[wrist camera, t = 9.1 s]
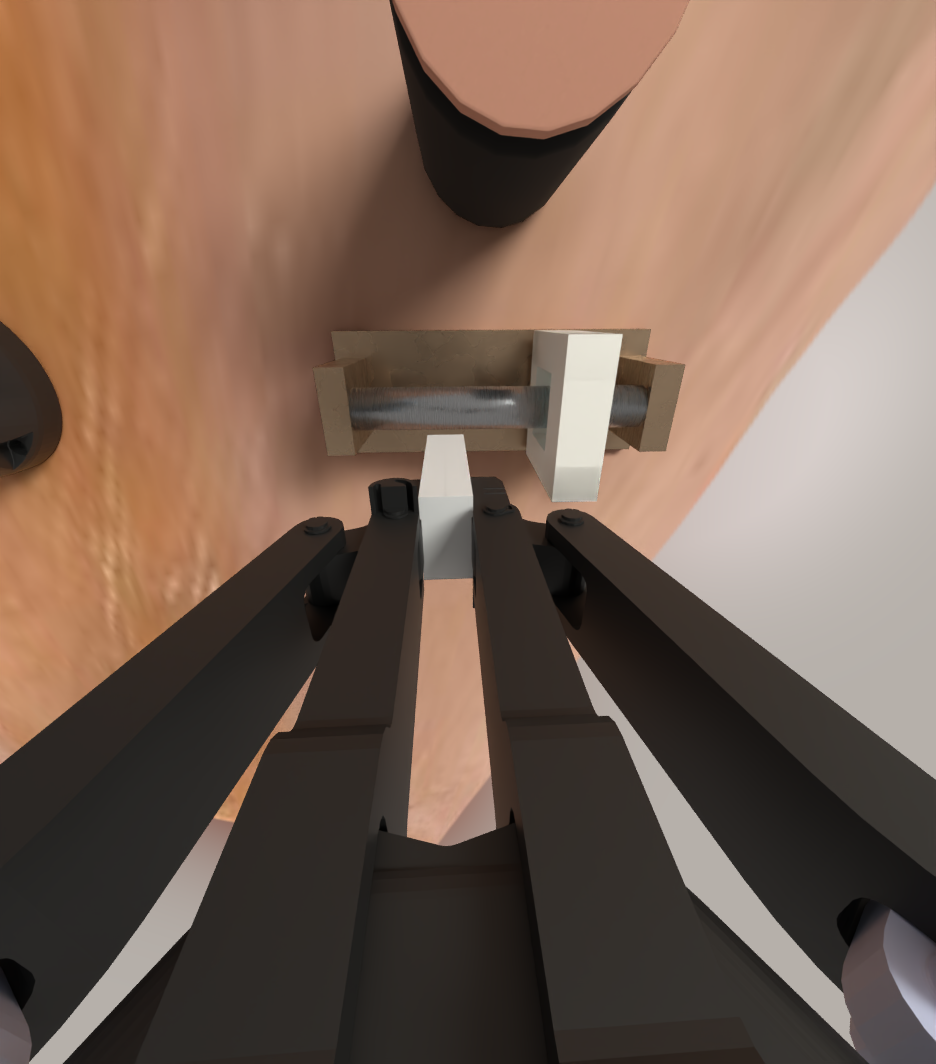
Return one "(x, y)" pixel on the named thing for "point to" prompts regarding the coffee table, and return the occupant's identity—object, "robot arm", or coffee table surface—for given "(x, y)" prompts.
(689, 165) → the coffee table surface
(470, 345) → the rail
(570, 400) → the collar
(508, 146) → the coffee jar
